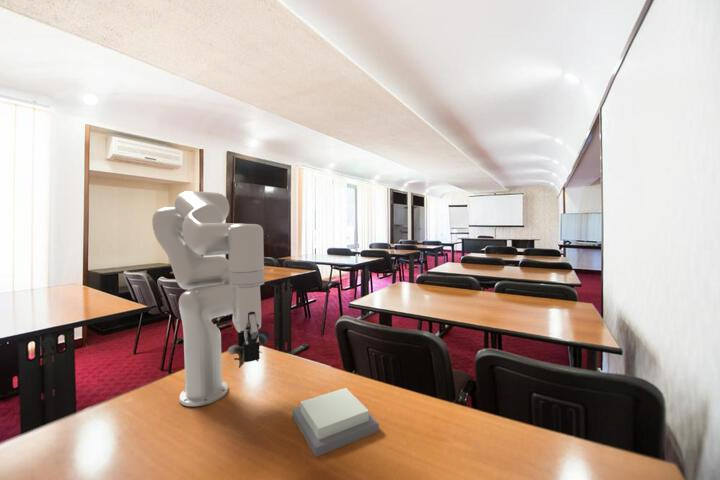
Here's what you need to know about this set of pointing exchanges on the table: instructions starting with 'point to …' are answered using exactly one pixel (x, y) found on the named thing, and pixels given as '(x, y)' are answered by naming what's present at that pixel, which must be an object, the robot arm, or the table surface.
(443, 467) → the table surface
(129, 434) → the table surface
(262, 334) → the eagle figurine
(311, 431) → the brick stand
